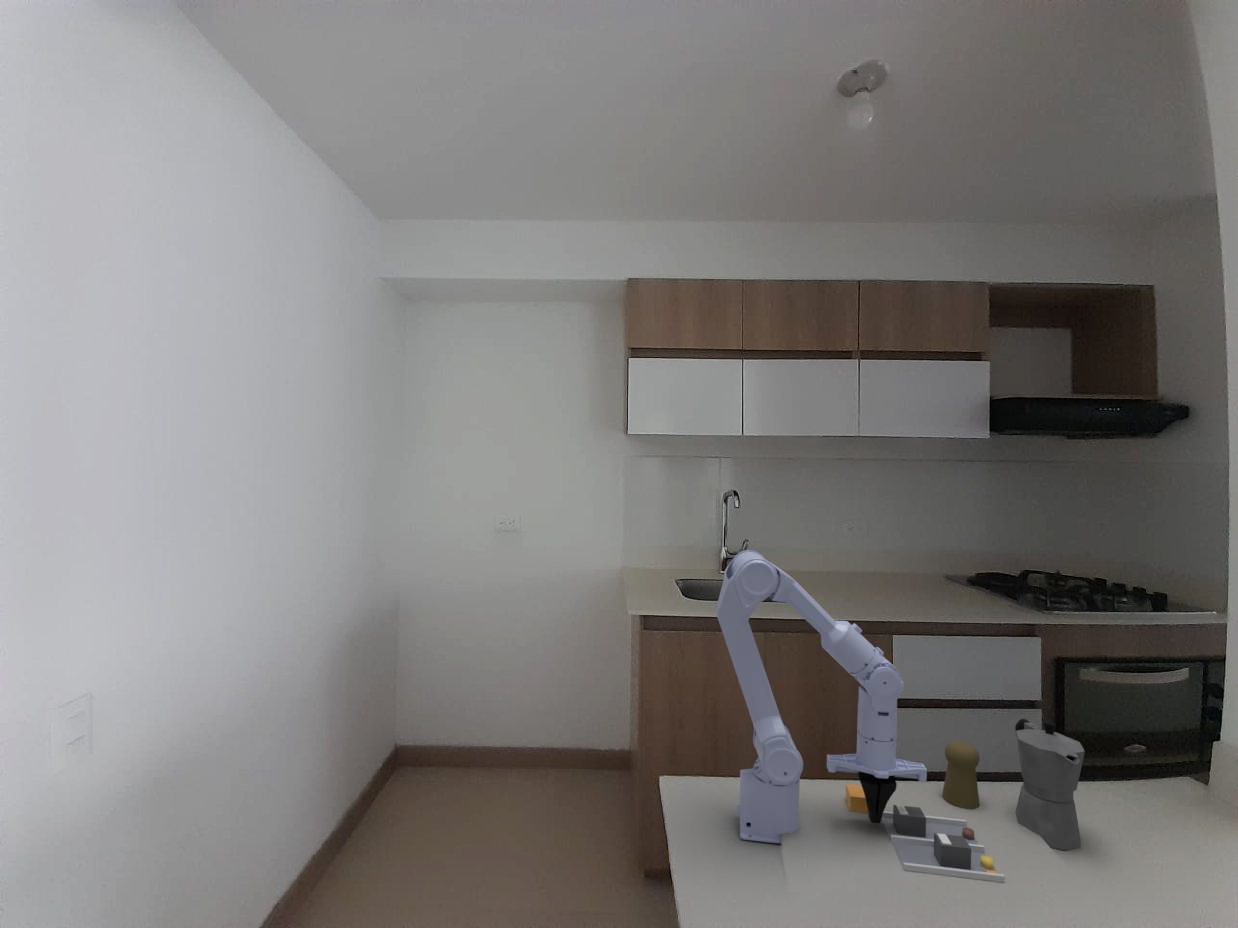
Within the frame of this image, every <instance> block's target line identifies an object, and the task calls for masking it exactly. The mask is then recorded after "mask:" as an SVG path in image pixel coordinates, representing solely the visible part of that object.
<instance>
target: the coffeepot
mask: <svg viewBox="0 0 1238 928" xmlns="http://www.w3.org/2000/svg"><path fill="white" fill-rule="evenodd" d="M1056 725H1057V724H1056V723H1054V722H1052V721H1048V720H1045V721H1043V726H1044V729H1039V726H1038V725H1036V724H1035V723H1034V722H1033V723H1032V722H1030V721H1029V720H1028V719H1027V718H1020V719H1019V720H1018V721H1017V722H1016V724H1015V725H1014V727H1015V728H1014V729H1015V730H1014V731H1015V734H1016V741H1017V748H1018V749H1017V751H1018V757H1019V764H1020V773H1021V776H1022V779H1023V782H1022V785H1021V787H1020V790H1019V795H1018V799H1017V804H1016V808H1015V812H1014V813H1015V818H1016V820H1017V821H1016V822H1017V823H1018V824H1019V825H1020V826H1022V827H1024V828H1025V829H1027V830H1028V831H1030V832H1032V833H1034V834H1036V835H1037V836H1040V837H1041V839H1042V840H1043V841H1044V843H1046V844H1047V846H1048V847H1049V848H1050V849H1053V850H1059V851H1073V850H1076V849H1078V848H1079V847H1081V846H1082V839H1081V835H1080V827H1079V821H1078V814H1077V808H1076V803H1075V800H1074V792H1076V791H1077V790H1078V785H1079V780H1080V775H1081V770H1082V766H1083V763H1084V758H1085V752H1086V751H1085V749H1084V747H1083V745H1082V744H1081V742H1080V741H1078V740H1075V739H1073V738H1071V737H1068V736H1066V735H1063V734H1061V733H1059V732H1056V731H1055V729H1056Z"/></svg>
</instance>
